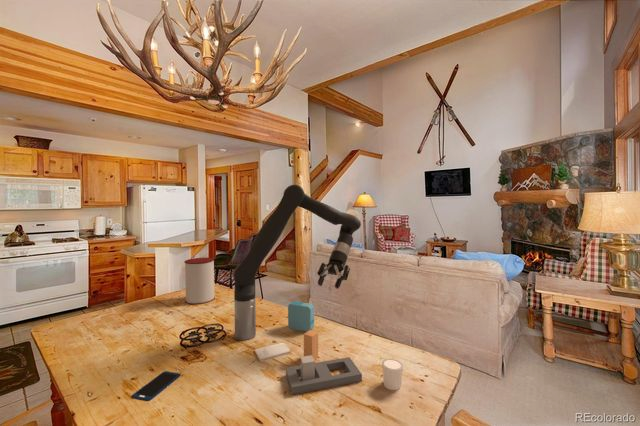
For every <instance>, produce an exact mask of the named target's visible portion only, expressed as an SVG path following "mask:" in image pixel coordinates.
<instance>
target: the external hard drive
mask: <svg viewBox="0 0 640 426" xmlns="http://www.w3.org/2000/svg"><path fill="white" fill-rule="evenodd" d="M254 353H255V355H256V356H257V359H258V360H259V362H262V361H268V360H270V359H274V358H277V357H278V358H279V357H282V356H284V355H285V356H286V355H289V354H291V349H290V348H289V347H288V346H287V345H286V344H285V343H284V342H279V343H275V344H271V345H268V346H263V347H260V348H256V349H254Z"/></svg>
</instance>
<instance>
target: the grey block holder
mask: <svg viewBox="0 0 640 426" xmlns="http://www.w3.org/2000/svg"><path fill="white" fill-rule="evenodd" d="M340 369H341V370H342V369H344V371H345V373H338V374H333V375H332V373H331V371H334V370H340ZM285 375H286V379H287V382H288V386H289V389H290V393H291V396H293V395H299V394H303V393H309V392H314V391H319V390H325V389H330V388H333V387H338V386H344V385H351V384H355V383H360V382H362V381H363V379H362V378H363V374H362V372H361V371H360V369H359V368H358V367H357V365H356V364H355V362H354V361H353V360H352V359H351V357H350V356H348V357H341V358H335V359H329V360H323V361H317V362H316V360H315V361H314V359H313V356H312V355H310V356H304V355H303V356H300V364H299V365H294V366H287V367H286V368H285Z"/></svg>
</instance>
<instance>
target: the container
mask: <svg viewBox="0 0 640 426" xmlns="http://www.w3.org/2000/svg"><path fill="white" fill-rule="evenodd" d="M214 263H215V258H213V257H194V258H189V259H186V260H184V266H185V267H184V268H185V269H184V270H185V273H184V274H185V278H184V280H185V300H184V302H185V303H186V304H187V305H192V304H193V305H202V304H203V305H204V304H208V303H210V302H213V301H214V300H215V299H216V296H215V264H214Z"/></svg>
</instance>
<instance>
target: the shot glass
mask: <svg viewBox="0 0 640 426" xmlns="http://www.w3.org/2000/svg"><path fill="white" fill-rule="evenodd" d="M381 366H382V367H381V368H382V378H383V386H384V387H385V389H388V390H391V391H398V390H401V388H402V383H403V372H404V364H403V363H402V362H401V361H400V360H398V359H394V358H386V359H383V360H382V361H381Z"/></svg>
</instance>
